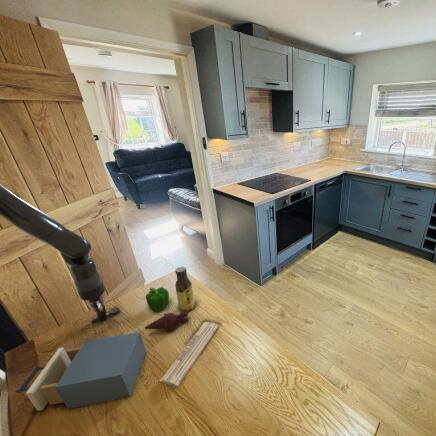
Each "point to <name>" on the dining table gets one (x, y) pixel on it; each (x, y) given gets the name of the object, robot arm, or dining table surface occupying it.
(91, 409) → the dining table surface
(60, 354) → the drawer
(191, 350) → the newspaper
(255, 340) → the dining table surface
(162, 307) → the bell pepper
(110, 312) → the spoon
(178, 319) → the beetroot
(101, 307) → the robot arm
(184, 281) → the sauce bottle
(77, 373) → the cabinet
